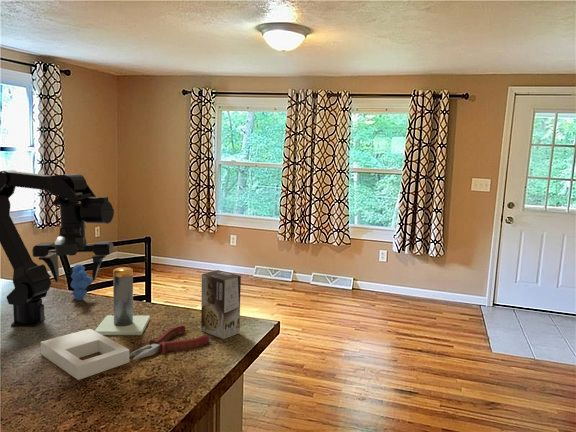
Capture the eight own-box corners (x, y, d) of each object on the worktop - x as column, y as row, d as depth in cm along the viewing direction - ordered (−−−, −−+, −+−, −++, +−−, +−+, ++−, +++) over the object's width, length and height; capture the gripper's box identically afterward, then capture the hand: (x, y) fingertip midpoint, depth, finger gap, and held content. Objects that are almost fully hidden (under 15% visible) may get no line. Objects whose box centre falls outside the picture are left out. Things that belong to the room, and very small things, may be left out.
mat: (94, 335, 123) (94, 331, 122) (106, 318, 134) (106, 315, 134) (141, 335, 124) (141, 331, 124) (150, 318, 136) (150, 315, 136)
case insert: (41, 354, 110) (40, 341, 110) (90, 339, 119) (90, 328, 119) (78, 380, 99) (77, 366, 99) (129, 362, 108) (129, 349, 108)
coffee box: (240, 333, 128) (242, 275, 126) (223, 339, 123) (224, 279, 121) (217, 324, 134) (218, 269, 131) (199, 330, 129) (200, 273, 126)
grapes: (98, 303, 147) (98, 265, 146) (75, 306, 143) (75, 268, 142) (88, 293, 156) (88, 258, 155) (66, 296, 152) (66, 260, 151)
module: (117, 327, 126) (116, 272, 124) (111, 321, 130) (110, 268, 128) (135, 324, 129) (135, 270, 127) (129, 318, 133) (129, 266, 131)
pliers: (115, 355, 112) (115, 344, 112) (182, 332, 128) (182, 323, 128) (144, 370, 106) (144, 359, 105) (210, 344, 121) (211, 334, 121)
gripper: (21, 227, 113) (25, 290, 115) (103, 226, 116) (105, 287, 118) (38, 221, 124) (42, 279, 126) (112, 220, 127) (115, 276, 129)
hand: (75, 280), depth 125 cm, fingers open, 9 cm apart
